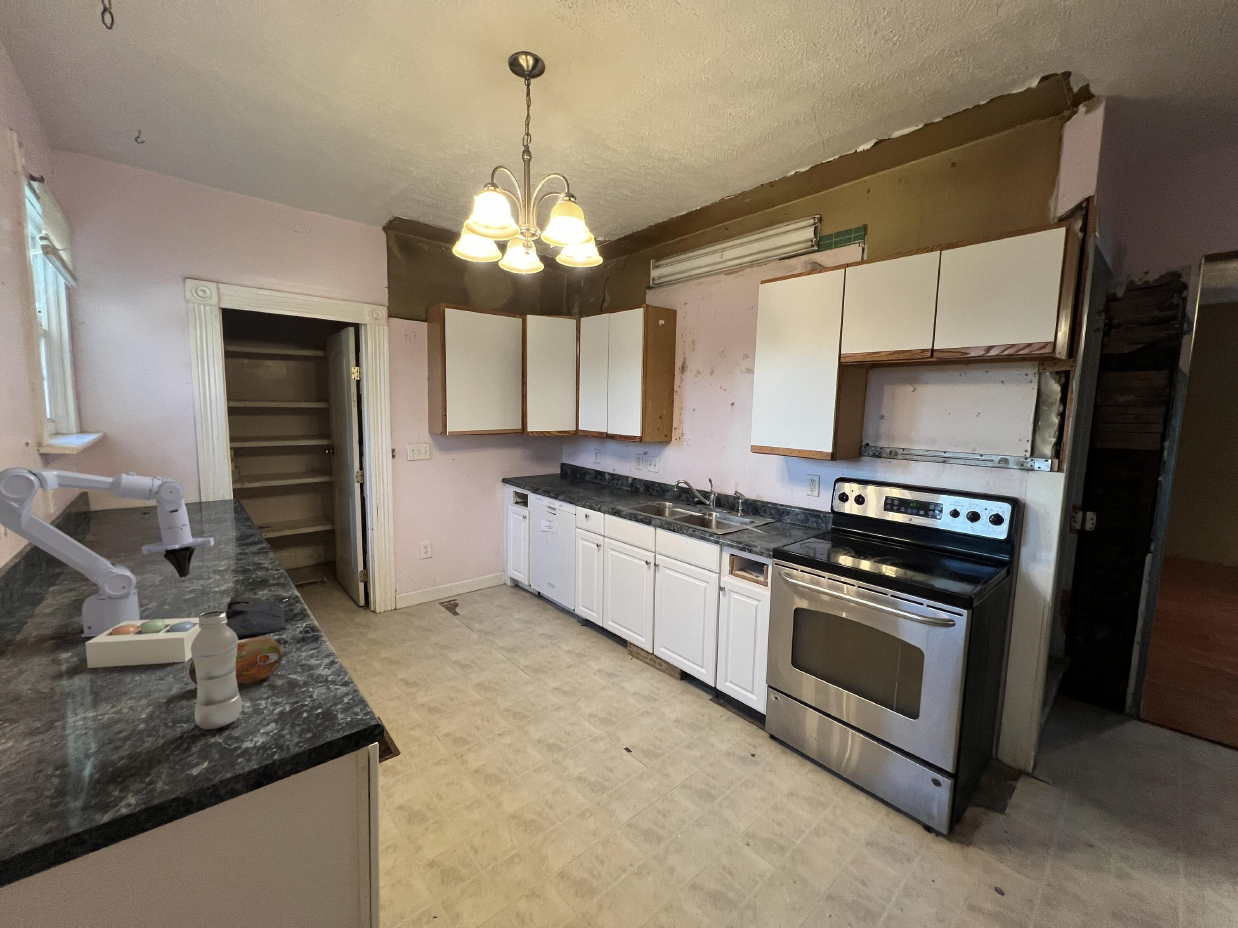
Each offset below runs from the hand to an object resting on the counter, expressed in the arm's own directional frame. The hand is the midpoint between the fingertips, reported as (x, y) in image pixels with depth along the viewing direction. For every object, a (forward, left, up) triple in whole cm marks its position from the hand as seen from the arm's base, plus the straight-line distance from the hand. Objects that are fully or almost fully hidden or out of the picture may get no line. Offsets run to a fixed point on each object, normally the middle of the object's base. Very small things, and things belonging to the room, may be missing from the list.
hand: (184, 575), depth 136 cm
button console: (+6, -22, -10) cm, 26 cm away
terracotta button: (0, -22, -7) cm, 24 cm away
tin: (+30, -38, -11) cm, 50 cm away
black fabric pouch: (+18, -8, -11) cm, 22 cm away
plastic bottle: (+34, -53, -11) cm, 64 cm away
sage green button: (+6, -22, -6) cm, 24 cm away
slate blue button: (+11, -22, -7) cm, 26 cm away
